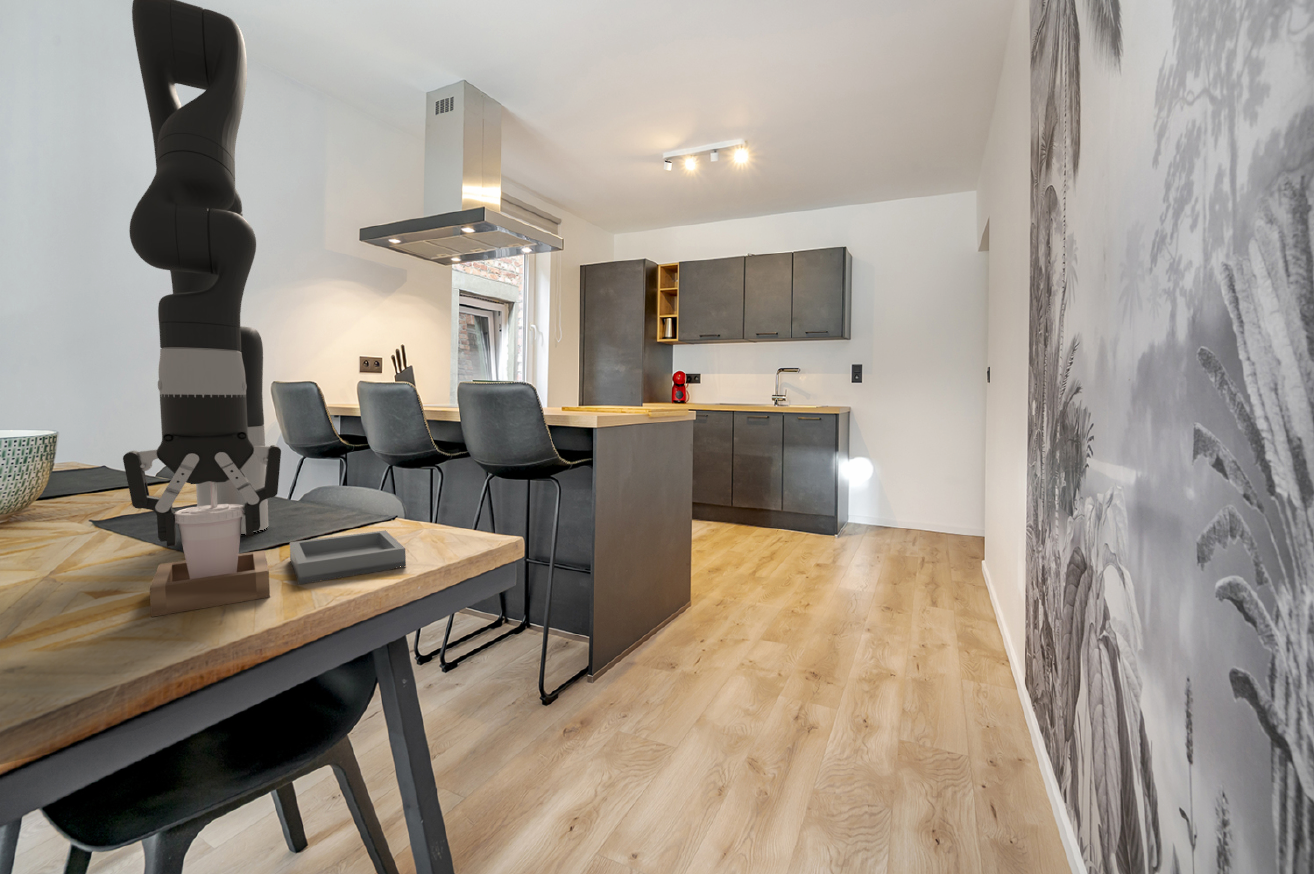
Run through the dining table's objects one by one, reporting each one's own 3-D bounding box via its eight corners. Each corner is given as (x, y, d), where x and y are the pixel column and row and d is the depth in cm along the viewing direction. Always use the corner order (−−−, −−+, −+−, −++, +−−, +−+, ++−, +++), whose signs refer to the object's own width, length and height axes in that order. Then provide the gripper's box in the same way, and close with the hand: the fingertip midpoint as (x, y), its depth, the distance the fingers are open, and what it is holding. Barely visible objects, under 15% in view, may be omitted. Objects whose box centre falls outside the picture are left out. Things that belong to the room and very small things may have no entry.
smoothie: (262, 584, 68) (257, 468, 67) (216, 604, 61) (209, 475, 60) (213, 582, 68) (207, 466, 67) (161, 602, 62) (154, 474, 61)
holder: (160, 589, 66) (159, 563, 66) (265, 573, 72) (264, 550, 72) (151, 616, 58) (149, 588, 58) (269, 596, 64) (268, 570, 64)
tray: (290, 560, 78) (289, 542, 78) (385, 546, 85) (385, 530, 85) (298, 584, 68) (298, 563, 68) (405, 566, 75) (405, 548, 75)
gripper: (279, 392, 70) (285, 525, 72) (121, 391, 62) (130, 542, 63) (284, 392, 65) (290, 537, 66) (109, 391, 56) (119, 558, 57)
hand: (211, 539), depth 64 cm, fingers closed on smoothie, 6 cm apart
